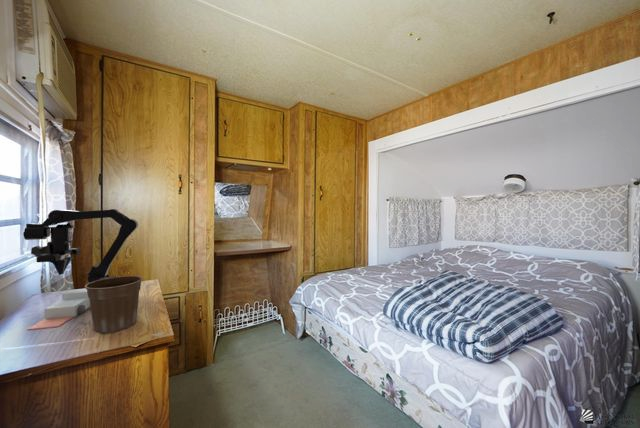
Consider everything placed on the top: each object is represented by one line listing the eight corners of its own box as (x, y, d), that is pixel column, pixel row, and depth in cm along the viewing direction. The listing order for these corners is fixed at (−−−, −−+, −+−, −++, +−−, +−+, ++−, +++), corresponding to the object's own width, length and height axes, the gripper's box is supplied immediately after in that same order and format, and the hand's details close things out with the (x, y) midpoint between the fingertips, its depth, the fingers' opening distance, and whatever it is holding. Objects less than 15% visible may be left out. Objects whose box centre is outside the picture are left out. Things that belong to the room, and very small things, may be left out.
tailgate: (44, 318, 97) (26, 329, 89) (73, 316, 100) (59, 325, 92) (44, 321, 97) (26, 331, 89) (74, 318, 100) (59, 328, 92)
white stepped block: (67, 306, 112) (67, 290, 112) (98, 303, 115) (97, 287, 115) (41, 321, 98) (41, 302, 97) (77, 317, 101) (77, 299, 100)
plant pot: (98, 319, 99) (97, 277, 98) (148, 313, 105) (147, 273, 104) (75, 340, 84) (74, 290, 83) (135, 332, 89) (135, 285, 89)
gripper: (51, 236, 120) (52, 270, 121) (18, 242, 102) (19, 281, 103) (81, 236, 124) (82, 269, 124) (54, 241, 106) (55, 279, 106)
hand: (60, 274), depth 114 cm, fingers closed
